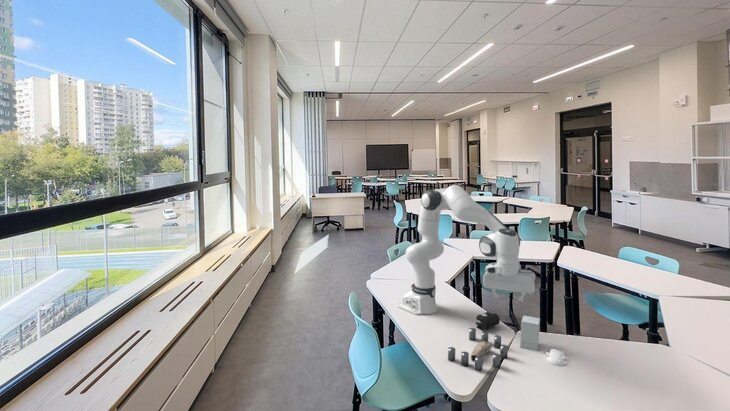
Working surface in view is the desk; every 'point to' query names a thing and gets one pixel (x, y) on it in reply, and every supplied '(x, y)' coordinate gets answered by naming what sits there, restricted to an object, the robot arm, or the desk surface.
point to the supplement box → (529, 332)
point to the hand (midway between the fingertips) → (508, 300)
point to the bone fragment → (480, 349)
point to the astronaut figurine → (556, 357)
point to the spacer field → (479, 359)
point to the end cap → (487, 321)
